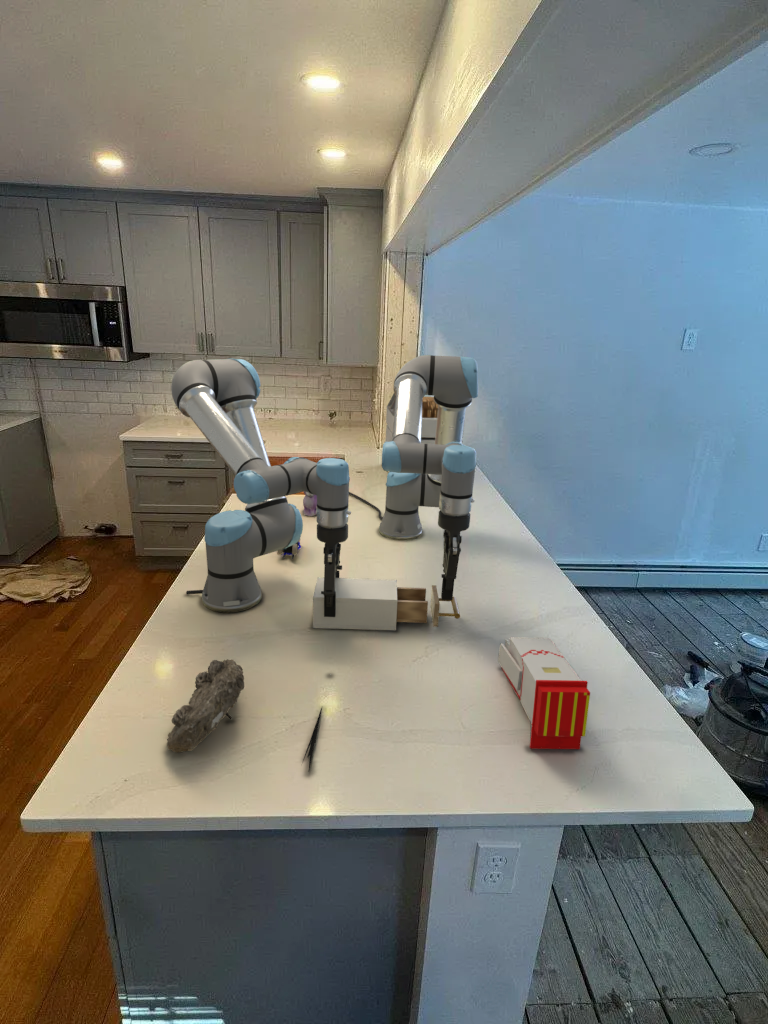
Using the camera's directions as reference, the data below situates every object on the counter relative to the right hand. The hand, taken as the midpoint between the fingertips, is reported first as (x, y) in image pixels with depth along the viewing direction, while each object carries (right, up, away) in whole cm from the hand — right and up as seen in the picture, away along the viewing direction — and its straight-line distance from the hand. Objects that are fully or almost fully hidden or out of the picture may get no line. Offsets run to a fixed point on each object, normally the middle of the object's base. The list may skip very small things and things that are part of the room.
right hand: (446, 598), depth 143 cm
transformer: (+1, +41, +132) cm, 138 cm away
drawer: (-9, -5, +1) cm, 11 cm away
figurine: (-43, +22, +74) cm, 88 cm away
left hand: (-29, -2, 0) cm, 29 cm away
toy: (+15, -17, -26) cm, 35 cm away
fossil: (-49, -17, -35) cm, 62 cm away
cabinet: (-23, -5, +2) cm, 24 cm away
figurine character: (-46, +9, +38) cm, 60 cm away
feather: (-28, -18, -34) cm, 48 cm away
